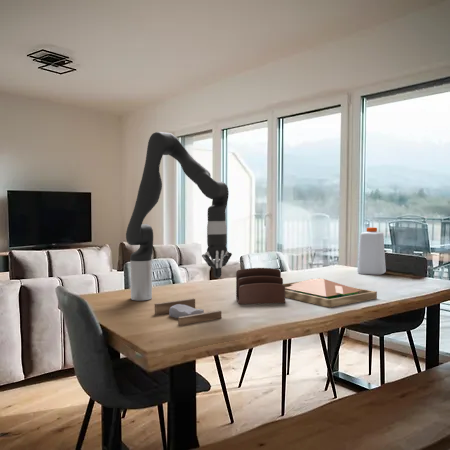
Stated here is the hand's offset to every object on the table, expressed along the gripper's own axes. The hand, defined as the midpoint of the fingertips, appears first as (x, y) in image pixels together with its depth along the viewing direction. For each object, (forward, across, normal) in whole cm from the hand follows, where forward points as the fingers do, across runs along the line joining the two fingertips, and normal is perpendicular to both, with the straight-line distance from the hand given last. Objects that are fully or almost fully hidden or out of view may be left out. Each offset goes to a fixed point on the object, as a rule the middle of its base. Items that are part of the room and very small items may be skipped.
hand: (217, 277), depth 171 cm
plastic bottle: (+13, -133, -30) cm, 137 cm away
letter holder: (+14, -25, -5) cm, 29 cm away
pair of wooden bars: (+13, +13, 0) cm, 19 cm away
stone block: (+14, +13, 0) cm, 19 cm away
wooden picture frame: (+13, -55, +1) cm, 57 cm away
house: (+14, -56, 0) cm, 58 cm away
